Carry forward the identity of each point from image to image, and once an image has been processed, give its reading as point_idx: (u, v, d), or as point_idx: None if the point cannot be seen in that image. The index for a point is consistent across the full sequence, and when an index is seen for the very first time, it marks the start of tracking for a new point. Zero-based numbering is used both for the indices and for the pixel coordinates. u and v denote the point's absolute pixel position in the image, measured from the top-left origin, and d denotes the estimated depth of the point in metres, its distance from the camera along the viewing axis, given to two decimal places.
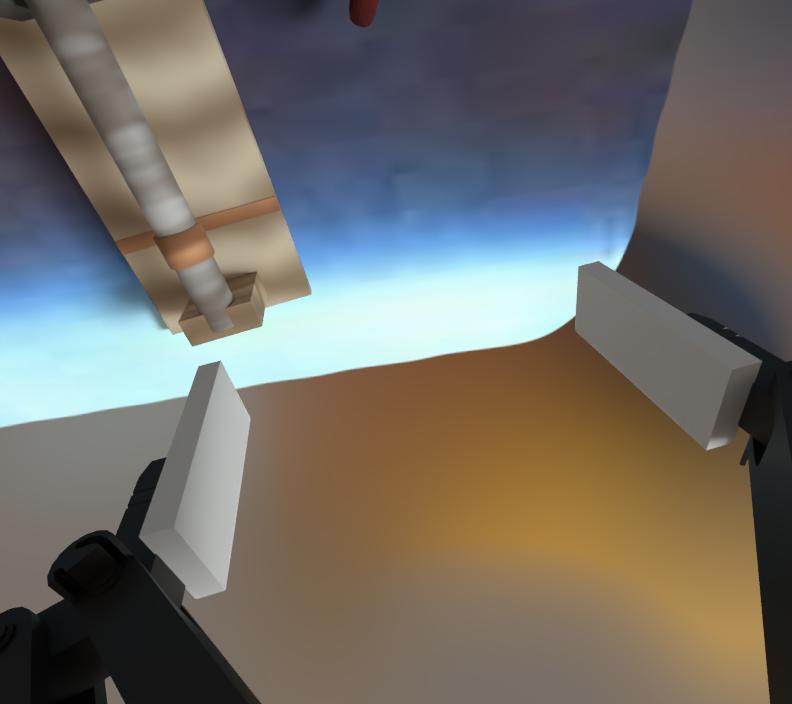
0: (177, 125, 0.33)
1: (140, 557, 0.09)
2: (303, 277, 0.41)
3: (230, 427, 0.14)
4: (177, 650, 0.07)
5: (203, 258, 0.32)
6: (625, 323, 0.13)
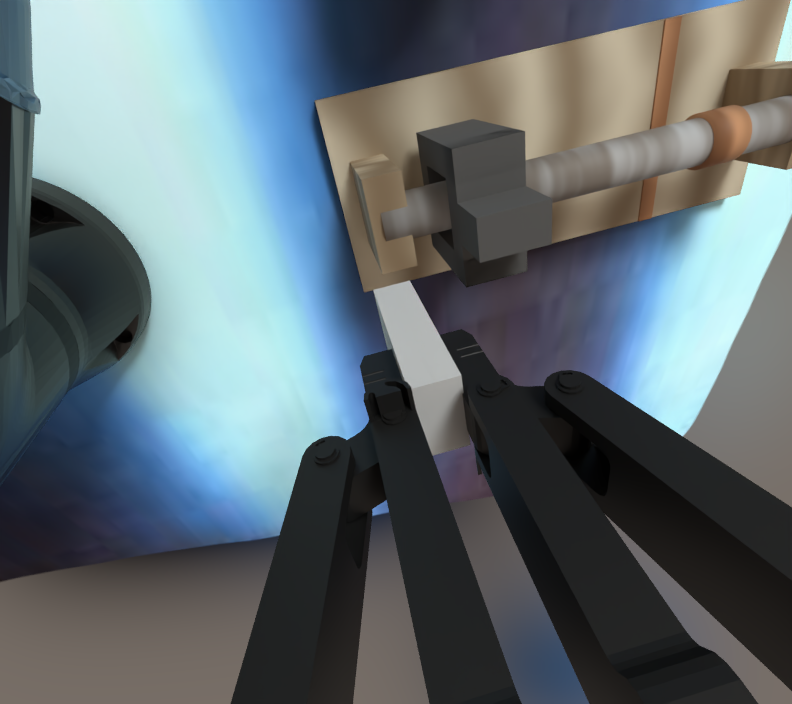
0: (567, 124, 0.32)
1: None
2: None
3: None
4: (430, 495, 0.09)
5: (746, 116, 0.27)
6: None
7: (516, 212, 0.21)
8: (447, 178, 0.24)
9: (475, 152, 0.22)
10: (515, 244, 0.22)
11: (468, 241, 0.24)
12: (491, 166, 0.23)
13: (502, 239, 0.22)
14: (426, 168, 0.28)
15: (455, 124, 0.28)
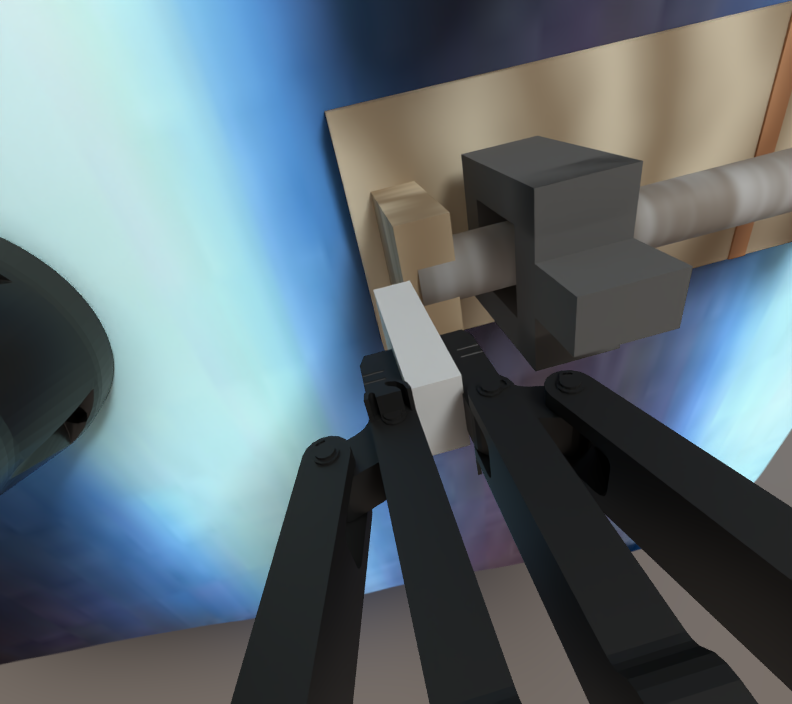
0: (654, 141, 0.24)
1: None
2: None
3: None
4: (430, 495, 0.09)
5: None
6: None
7: (637, 287, 0.14)
8: (517, 225, 0.17)
9: (567, 192, 0.15)
10: (628, 330, 0.15)
11: (551, 319, 0.16)
12: (588, 212, 0.16)
13: (610, 325, 0.15)
14: (475, 202, 0.21)
15: (515, 143, 0.21)
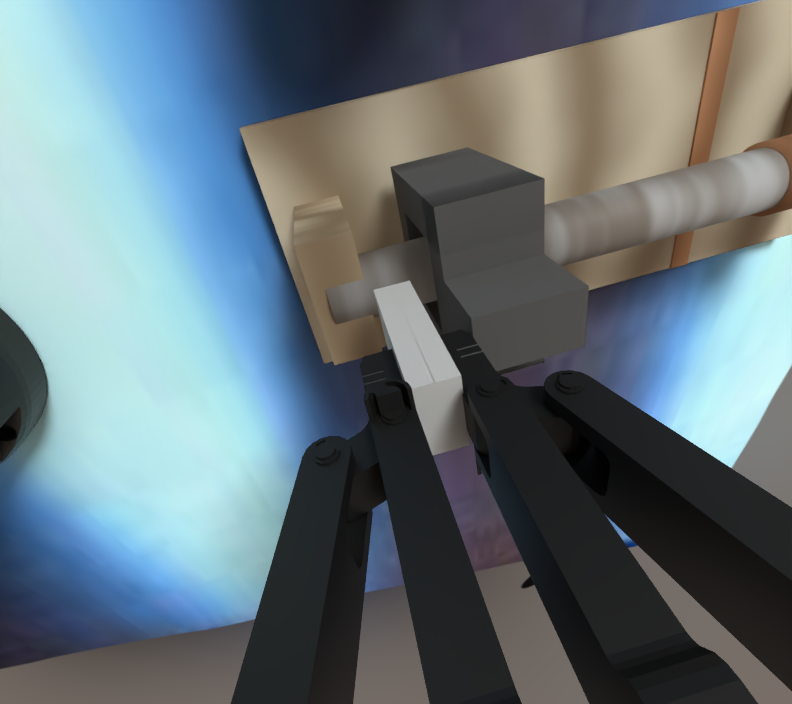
0: (584, 152, 0.24)
1: None
2: None
3: None
4: (430, 495, 0.09)
5: None
6: None
7: (533, 307, 0.14)
8: (429, 242, 0.17)
9: (469, 210, 0.15)
10: (531, 349, 0.15)
11: None
12: (493, 229, 0.15)
13: (511, 344, 0.15)
14: (404, 215, 0.21)
15: (443, 155, 0.21)
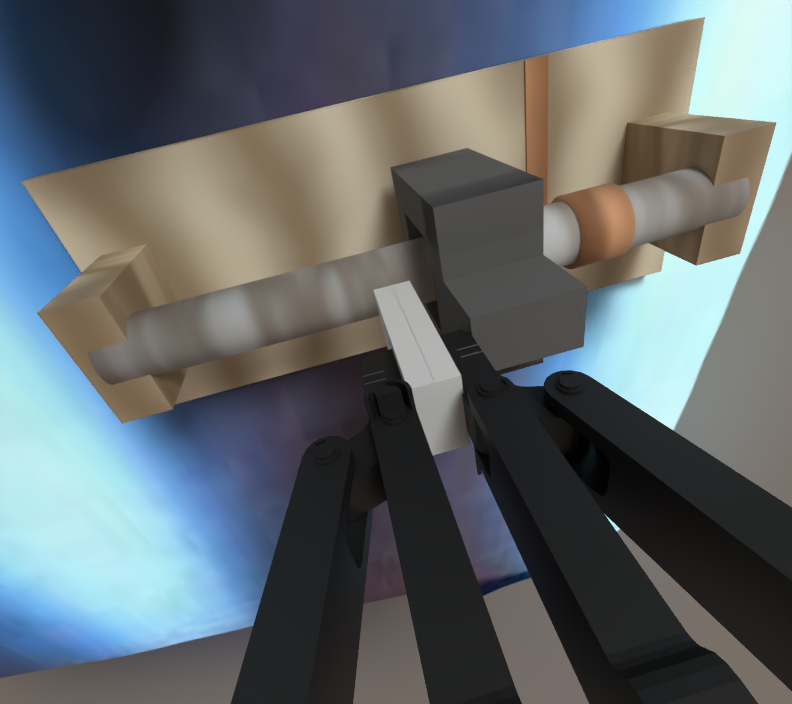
0: None
1: None
2: (669, 29, 0.22)
3: None
4: (430, 495, 0.09)
5: (626, 203, 0.19)
6: None
7: (531, 307, 0.14)
8: (429, 242, 0.17)
9: (468, 210, 0.15)
10: (530, 349, 0.15)
11: None
12: (493, 230, 0.15)
13: (510, 344, 0.15)
14: (404, 216, 0.21)
15: (443, 156, 0.21)
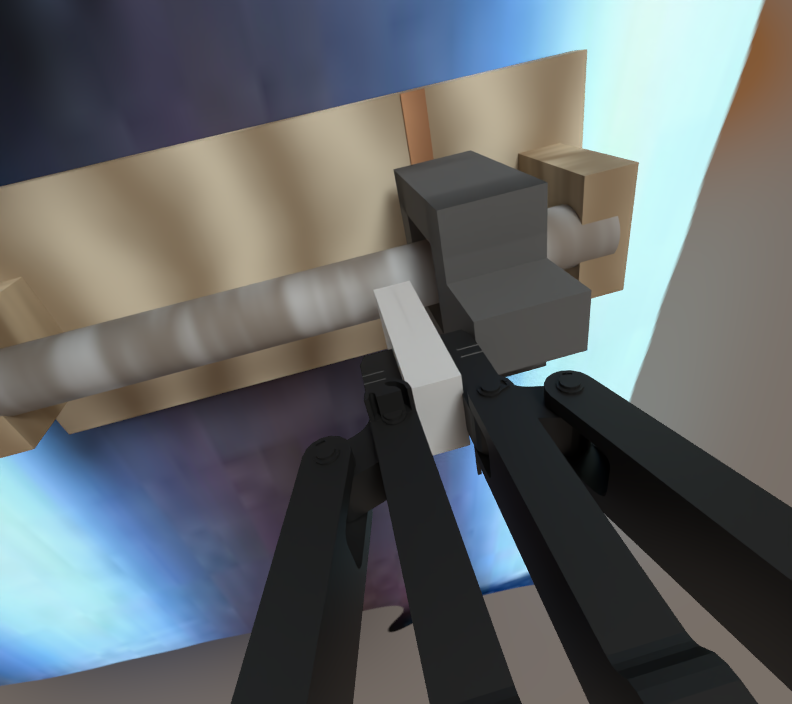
0: (295, 229, 0.23)
1: None
2: (551, 61, 0.21)
3: None
4: (430, 495, 0.09)
5: None
6: None
7: (535, 311, 0.14)
8: (432, 245, 0.17)
9: (472, 213, 0.15)
10: (533, 353, 0.15)
11: None
12: (496, 233, 0.15)
13: (513, 348, 0.15)
14: (407, 218, 0.21)
15: (446, 158, 0.21)
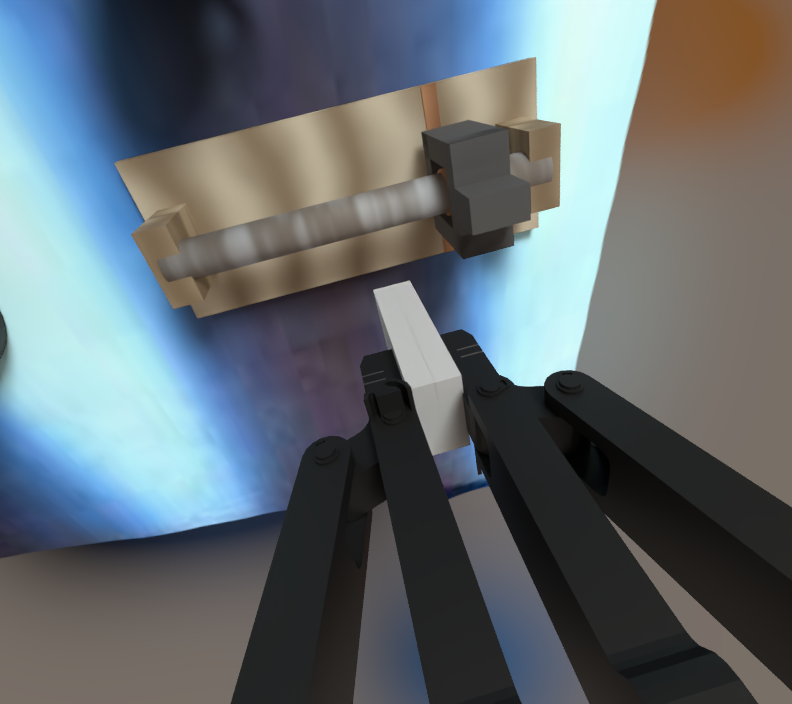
0: (353, 174, 0.36)
1: None
2: (513, 65, 0.34)
3: None
4: (430, 495, 0.09)
5: None
6: None
7: (501, 194, 0.27)
8: (446, 168, 0.30)
9: (468, 146, 0.28)
10: (501, 220, 0.28)
11: (463, 219, 0.29)
12: (481, 158, 0.29)
13: (490, 216, 0.28)
14: (430, 161, 0.34)
15: (453, 124, 0.34)
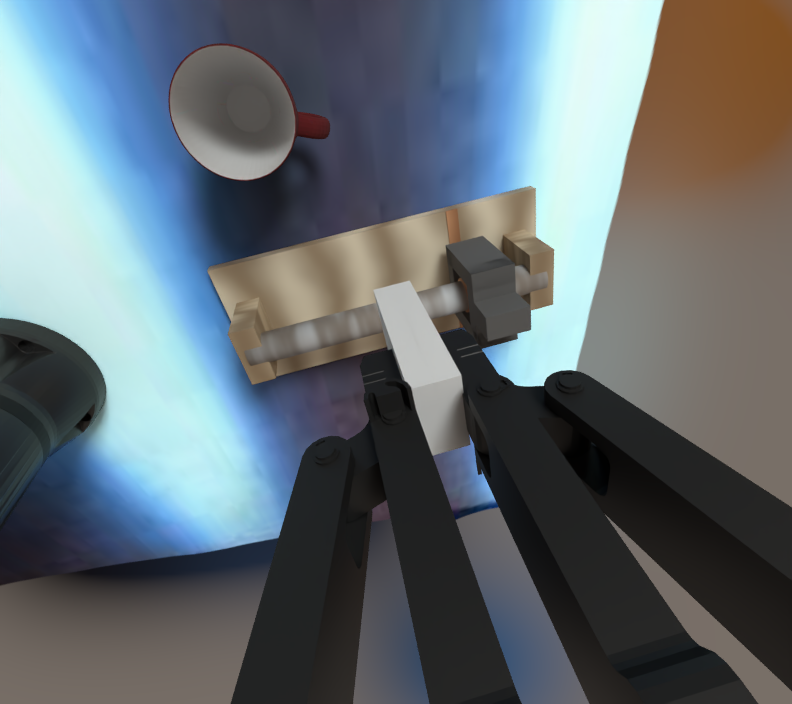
0: (390, 273, 0.46)
1: None
2: (518, 194, 0.44)
3: None
4: (430, 495, 0.09)
5: None
6: None
7: (509, 314, 0.37)
8: (467, 286, 0.39)
9: (485, 275, 0.38)
10: (509, 330, 0.38)
11: (480, 326, 0.39)
12: (494, 282, 0.38)
13: (501, 328, 0.37)
14: (452, 269, 0.44)
15: (471, 240, 0.44)
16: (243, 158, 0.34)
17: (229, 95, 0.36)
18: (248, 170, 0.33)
